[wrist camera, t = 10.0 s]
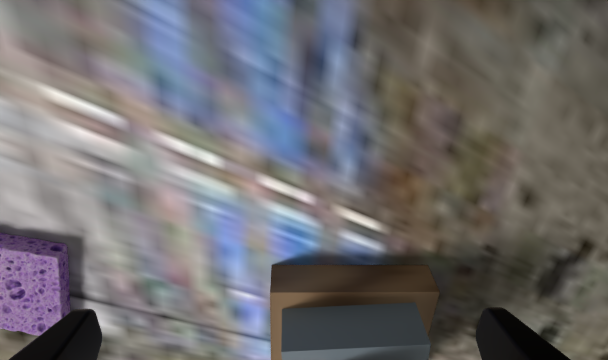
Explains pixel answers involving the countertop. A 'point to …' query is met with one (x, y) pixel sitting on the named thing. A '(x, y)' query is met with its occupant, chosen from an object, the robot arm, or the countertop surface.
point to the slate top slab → (354, 333)
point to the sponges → (32, 283)
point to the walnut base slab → (348, 290)
